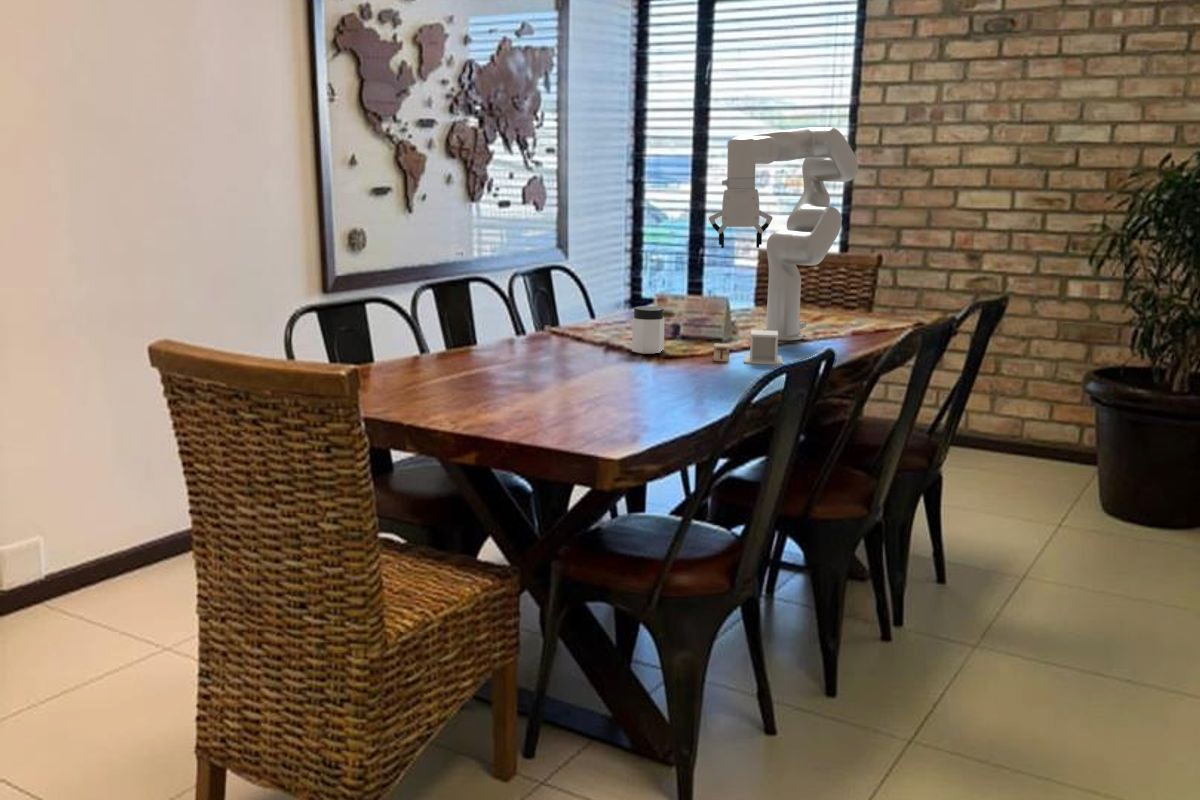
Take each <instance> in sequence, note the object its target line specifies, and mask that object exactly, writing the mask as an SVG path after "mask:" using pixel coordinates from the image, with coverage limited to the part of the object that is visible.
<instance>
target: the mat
mask: <svg viewBox="0 0 1200 800" xmlns="http://www.w3.org/2000/svg"><path fill="white" fill-rule="evenodd" d="M743 364H751V365H773V366H775V365H776V366H783V364H784V363H783V356H782V355H777V362H775V361H774V357H760V356H752V361H750V354H744V355H743Z"/></svg>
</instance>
